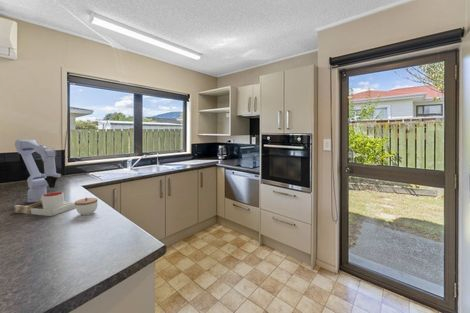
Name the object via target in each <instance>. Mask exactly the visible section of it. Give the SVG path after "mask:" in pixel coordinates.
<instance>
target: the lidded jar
mask: <svg viewBox="0 0 470 313" xmlns="http://www.w3.org/2000/svg"><path fill="white" fill-rule="evenodd" d="M98 201H99V200H98V198H97V197H87V196H86V197H84V198H81V199H78V200H75V201H74V202H75V206H76V208H75V210H76V212H77V213H78V214H79V215H81V216H90V215H92V214H94V212H95V211H96V210H97V209H98V203H99V202H98Z"/></svg>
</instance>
